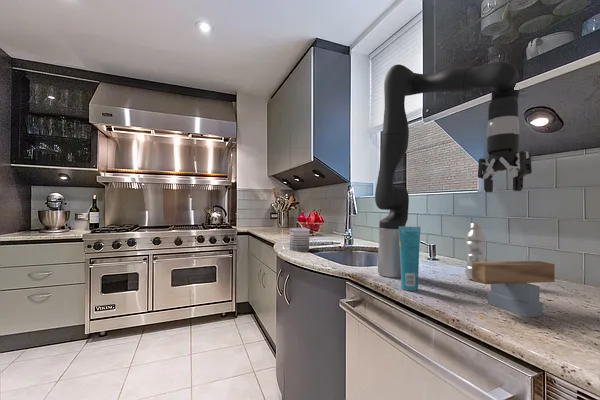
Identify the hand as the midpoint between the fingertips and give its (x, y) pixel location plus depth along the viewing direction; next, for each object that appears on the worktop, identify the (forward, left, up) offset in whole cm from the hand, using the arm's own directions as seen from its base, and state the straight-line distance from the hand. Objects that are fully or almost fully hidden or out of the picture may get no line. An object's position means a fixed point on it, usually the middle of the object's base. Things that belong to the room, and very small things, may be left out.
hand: (502, 191), depth 82 cm
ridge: (+8, -6, -30) cm, 32 cm away
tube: (-13, -21, -30) cm, 39 cm away
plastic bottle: (-18, +10, -30) cm, 37 cm away
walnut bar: (+8, -6, -23) cm, 25 cm away
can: (-94, -34, -30) cm, 104 cm away
